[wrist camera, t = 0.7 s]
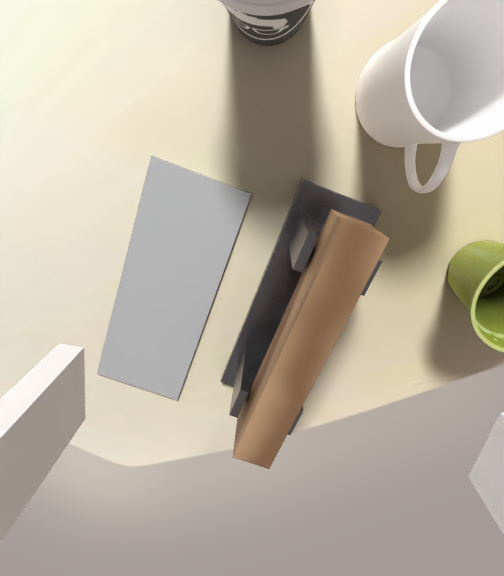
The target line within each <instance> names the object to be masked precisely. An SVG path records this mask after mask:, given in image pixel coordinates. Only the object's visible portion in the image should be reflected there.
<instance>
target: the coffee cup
mask: <svg viewBox="0 0 504 576" xmlns="http://www.w3.org/2000/svg"><path fill="white" fill-rule="evenodd" d="M219 1H220V2H222V3H223V5H224V6H225V8H226V9H227V11H228V13H229V14H230V16H231V18H232V19H233V21H234V23H235V24H236V26H237V27H238V29H239V30H240V32H241V33H242V34H243V35H244V36H245V37H246V38H248V39H249V40H251V41H252V42H254V43H257V44H260V45H265V46H271V45H277V44H280V43H282V42H284V41H286V40H288V39H289V38H290V37H292V36H293V35H294V34H295V33H296V32H297V30H298V29H299V28H300V26H301V25H302V23H303V21H304V19H305V18H306V16H307V14H308V12H309V10H310V8H311V7H312V5H313V3H314V1H315V0H219Z"/></svg>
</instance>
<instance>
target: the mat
mask: <svg viewBox="0 0 504 576" xmlns="http://www.w3.org/2000/svg"><path fill="white" fill-rule="evenodd" d="M250 197H251V194H250V193H248V192H245V191H243V190H240V189H238V188H235V187H232V186H230V185H227V184H225V183H222V182H219V181H217V180H214V179H212V178H209V177H206V176H204V175H201V174H199V173H196V172H193V171H191V170H188V169H186V168H183V167H181V166H178V165H175V164H173V163H170V162H168V161H165V160H162V159H160V158H157V157H155V156H151V159H150V163H149V167H148V171H147V175H146V179H145V183H144V187H143V191H142V195H141V199H140V203H139V207H138V211H137V215H136V219H135V223H134V227H133V231H132V235H131V239H130V243H129V247H128V251H127V255H126V260H125V264H124V268H123V272H122V276H121V280H120V284H119V288H118V292H117V296H116V300H115V304H114V308H113V312H112V316H111V320H110V324H109V328H108V332H107V336H106V340H105V344H104V348H103V352H102V356H101V360H100V364H99V368H98V372H97V374H99V375H102V376H105V377H108V378H111V379H114V380H117V381H120V382H123V383H126V384H129V385H133V386H136V387H139V388H142V389H145V390H148V391H151V392H154V393H157V394H160V395H163V396H166V397H169V398H172V399H175V400H177V399H178V397H179V394H180V391H181V388H182V386H183V383H184V380H185V377H186V375H187V372H188V369H189V366H190V363H191V361H192V358H193V355H194V352H195V350H196V347H197V344H198V341H199V338H200V336H201V333H202V330H203V327H204V325H205V322H206V319H207V316H208V313H209V311H210V308H211V305H212V302H213V300H214V297H215V294H216V291H217V288H218V286H219V283H220V280H221V277H222V275H223V272H224V269H225V266H226V263H227V261H228V258H229V255H230V252H231V250H232V247H233V244H234V241H235V238H236V236H237V233H238V230H239V227H240V225H241V222H242V219H243V216H244V213H245V211H246V208H247V205H248V202H249V200H250Z"/></svg>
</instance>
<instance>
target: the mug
mask: <svg viewBox="0 0 504 576" xmlns="http://www.w3.org/2000/svg"><path fill="white" fill-rule="evenodd" d="M356 110H357V115H358V118H359V121H360V123H361V125H362V127H363V128H364V130H365V131H366V132H367V134H368V135H369V136H370V137H371V138H373V139H374V140H375V141H377V142H379V143H381V144H383V145H386V146H390V147H405V173H406V178H407V181H408V184H409V186H410V188H411V189H412V190H413V191H415V192H417V193H429V192H431V191H433V190H434V189H436V188H437V187H438V186H439V185H440V183H441V182H442V181H443V179H444V178H445V176H446V174H447V173H448V171H449V169H450V166H451V164H452V162H453V159H454V156H455V154H456V151H457V148H458V146H459V145H460V143H465V142H474V141H479V140H482V139H486V138H488V137H491V136H493V135H496V134H498V133H499V132H501V131H503V130H504V0H440V1H439V2H438V3H437V4H436V5H435V6H433V7H432V8H431V9H430V10H429V11H428V12H427V13H425V14H424V15H423V16H422V17H421V18H420V19H419V20H417V21H416V22H415V23H414V24H413V25H412V26H411V27H409V28H408V29H407V30H406V31H405V32H404V33H403V34H401V35H400V36H399V37H398V38H397V39H396V40H393V41H391V42H390V43H388V44H386V45H385V46H383V47H382V48H381V49H380V50H378V51H377V52H376V53H375V54H374V55H373V57H372V58H371V59H370V60H369V62H368V63H367V64H366V66H365V68H364V70H363V72H362V74H361V76H360V79H359V82H358V85H357V90H356ZM433 143H442V146H441V153H440V157H439V160H438V163H437V166H436V168H435V170H434V172H433V174H432V176H431V178H430V179H429V181H428V182H427V183H426V184H425V185H424V186H423V187H422V186H421V185H420V183H419V181H418V178H417V174H416V165H415V156H416V149H417V146H418V144H433Z"/></svg>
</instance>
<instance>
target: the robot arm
mask: <svg viewBox="0 0 504 576" xmlns="http://www.w3.org/2000/svg"><path fill="white" fill-rule="evenodd" d="M84 419H85V375H84V347H77V346H71V345H64V344H58V345H57V346H56V347H55V348H54V349H53V350H52V351H51V352H50V353H49V354H48V355H47V356H45V357H44V358H43V359H42V360H41V361H40V362H39V363H38V364H37V365H36V366H35V367H34V368H33V369H32V370H31V371H29V372H28V373H27V374H26V375H25V376H24V377H23V378H22V379H21V380H20V381H19V382H18V383H17V384H16V385H15V386H13V387H12V388H11V389H10V390H9V391H8V392H7V393H6V394H5V395H4V396H3V397H2V398H1V399H0V544H1V542H2V541H3V539H4V538H5V536H6V535H7V533H8V532H9V530H10V529H11V527H12V526H13V524H14V523H15V521H16V520H17V518H18V517H19V515H20V514H21V512H22V511H23V509H24V508H25V507H26V505H27V504H28V502H29V501H30V499H31V498H32V496H33V495H34V493H35V492H36V490H37V489H38V487H39V486H40V484H41V483H42V481H43V480H44V479H45V477H46V476H47V474H48V473H49V471H50V470H51V468H52V467H53V465H54V464H55V462H56V461H57V459H58V458H59V456H60V455H61V453H62V452H63V450H64V449H65V447H66V446H67V444H68V443H69V442H70V440H71V439H72V437H73V436H74V434H75V433H76V431H77V430H78V428H79V427H80V425H81V424H82V422H83V421H84ZM468 477H469V478H470V480H471V481H472V483H473V485H474V486H475V488H476V490H477V491H478V493H479V495H480V496H481V498H482V500H483V501H484V503H485V504H486V506H487V508H488V509H489V511H490V513H491V514H492V516H493V518H494V519H495V521H496V523H497V524H498V526H499V528H500V529H501V531H502V532H503V534H504V413H503V412H501V413H500V416H499V417H498V419H497V421H496V423H495V425H494V427H493V429H492V431H491V433H490V435H489V437H488V439H487V441H486V443H485V445H484V447H483V449H482V451H481V453H480V455H479V457H478V459H477V461H476V463H475V465H474V467H473V469H472V471H471V473H470V474H469V476H468Z"/></svg>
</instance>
